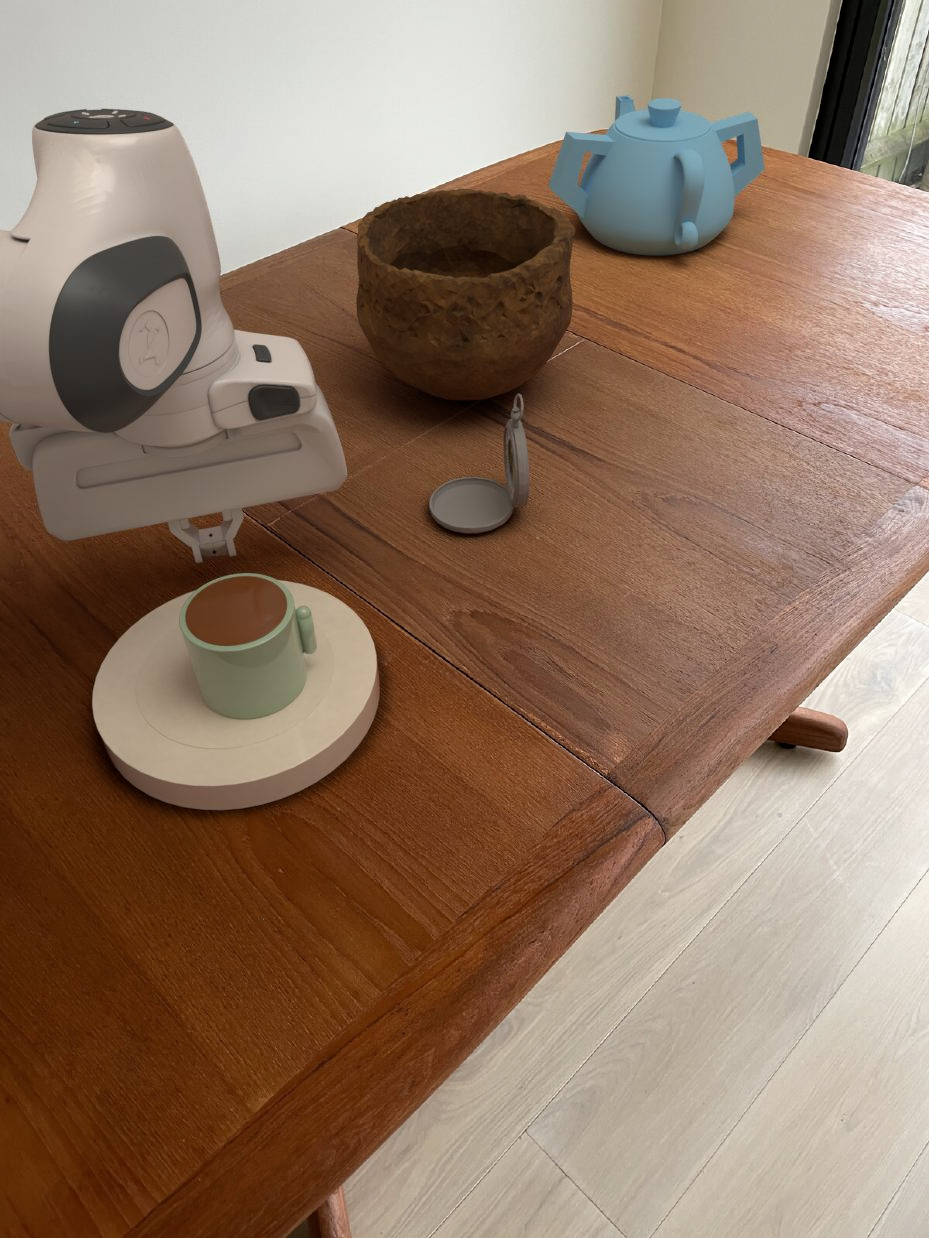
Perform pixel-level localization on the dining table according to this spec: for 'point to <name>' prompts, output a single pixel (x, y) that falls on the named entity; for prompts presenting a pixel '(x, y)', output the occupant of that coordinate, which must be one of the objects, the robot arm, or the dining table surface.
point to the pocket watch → (487, 488)
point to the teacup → (247, 644)
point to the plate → (227, 747)
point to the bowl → (464, 289)
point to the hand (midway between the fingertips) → (215, 554)
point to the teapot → (657, 177)
